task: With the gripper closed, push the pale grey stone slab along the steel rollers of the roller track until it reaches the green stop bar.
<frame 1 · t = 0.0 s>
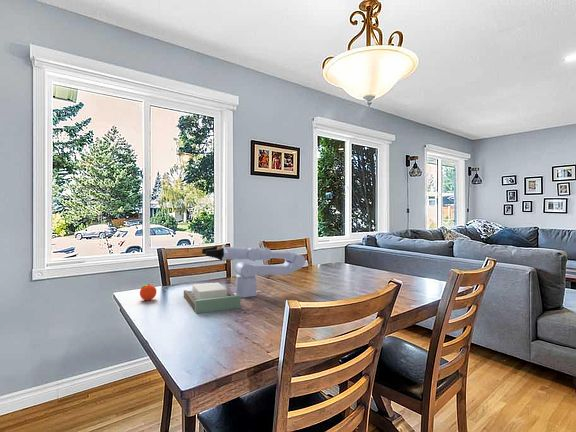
hand: (204, 252, 148), 22 cm above the table, tool horizontal, fingers open, 7 cm apart
stop bar: (218, 309, 135), on the table
clementine: (146, 300, 147), on the table
roller track: (209, 301, 147), on the table
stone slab: (209, 290, 148), point 5 cm above the table, slide at 0.0 cm
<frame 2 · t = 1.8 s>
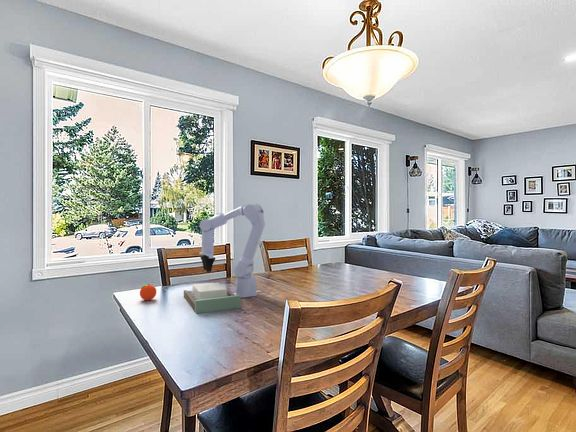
hand: (207, 270, 163), 10 cm above the table, tool pointing down, fingers open, 5 cm apart
nothing on the table moved.
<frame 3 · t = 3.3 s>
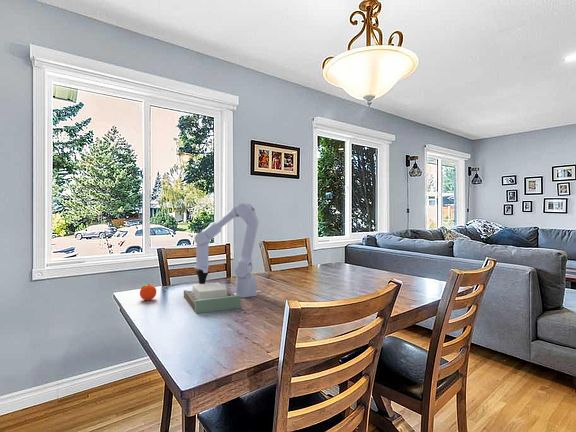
hand: (202, 284, 160), 4 cm above the table, tool pointing down, fingers closed
nothing on the table moved.
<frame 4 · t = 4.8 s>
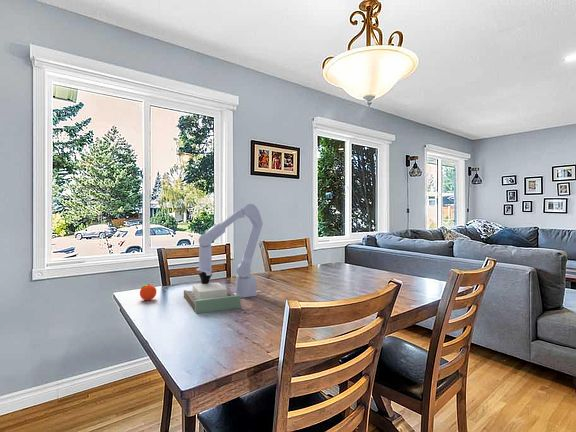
hand: (205, 287, 155), 4 cm above the table, tool pointing down, fingers closed
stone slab: (209, 290, 148), point 5 cm above the table, slide at 0.1 cm, touching gripper
everything else where it was.
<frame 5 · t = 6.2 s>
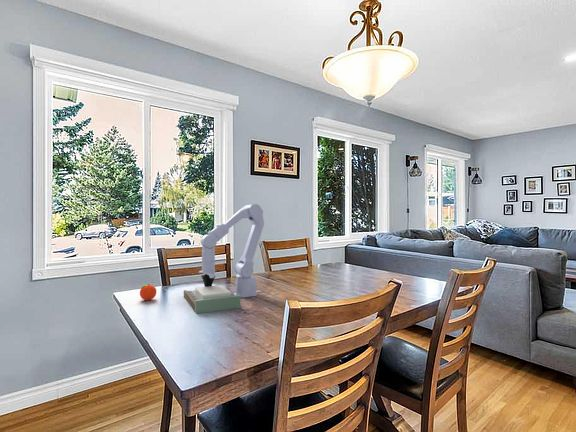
hand: (208, 290, 150), 4 cm above the table, tool pointing down, fingers closed
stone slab: (212, 293, 143), point 5 cm above the table, slide at 6.0 cm, touching gripper
everything else where it was.
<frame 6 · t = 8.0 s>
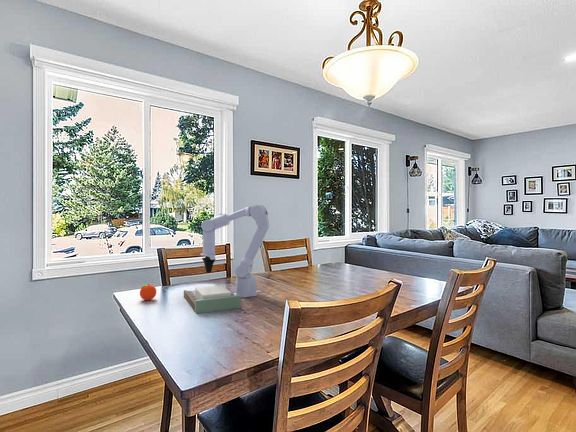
hand: (208, 272, 159), 10 cm above the table, tool pointing down, fingers closed
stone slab: (212, 293, 143), point 5 cm above the table, slide at 6.0 cm
everything else where it was.
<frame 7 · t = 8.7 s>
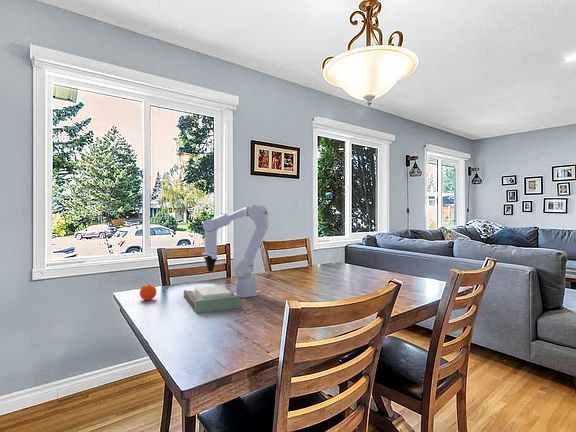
hand: (210, 271, 162), 10 cm above the table, tool pointing down, fingers closed
nothing on the table moved.
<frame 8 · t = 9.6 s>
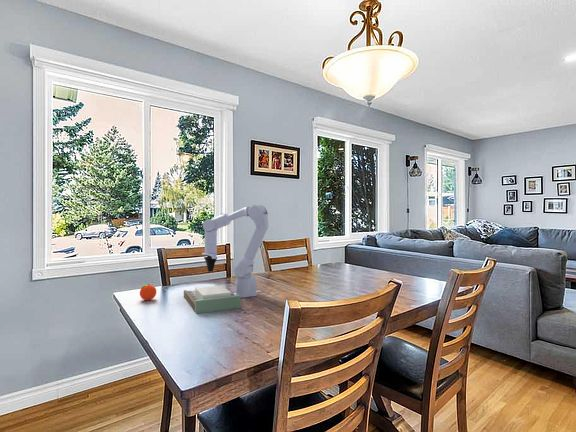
hand: (210, 271, 162), 10 cm above the table, tool pointing down, fingers closed
nothing on the table moved.
at the end: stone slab slide at 6.0 cm; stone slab touching nothing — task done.
